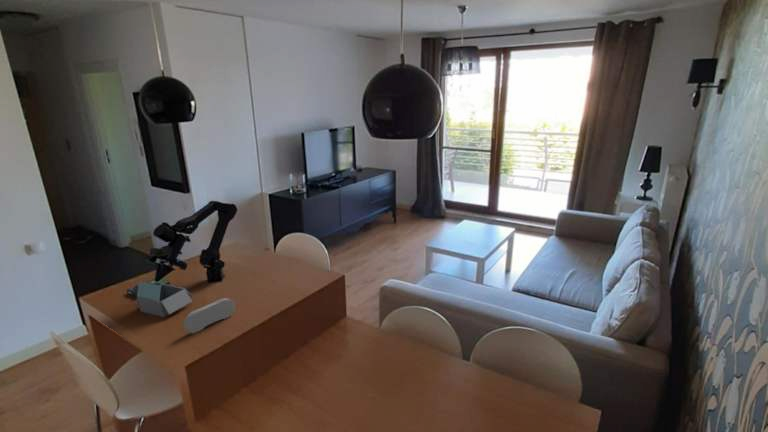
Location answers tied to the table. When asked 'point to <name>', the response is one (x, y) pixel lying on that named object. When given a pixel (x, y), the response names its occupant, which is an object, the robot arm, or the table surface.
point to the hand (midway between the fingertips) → (156, 281)
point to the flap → (149, 290)
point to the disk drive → (134, 290)
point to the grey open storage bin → (165, 301)
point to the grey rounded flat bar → (208, 315)
